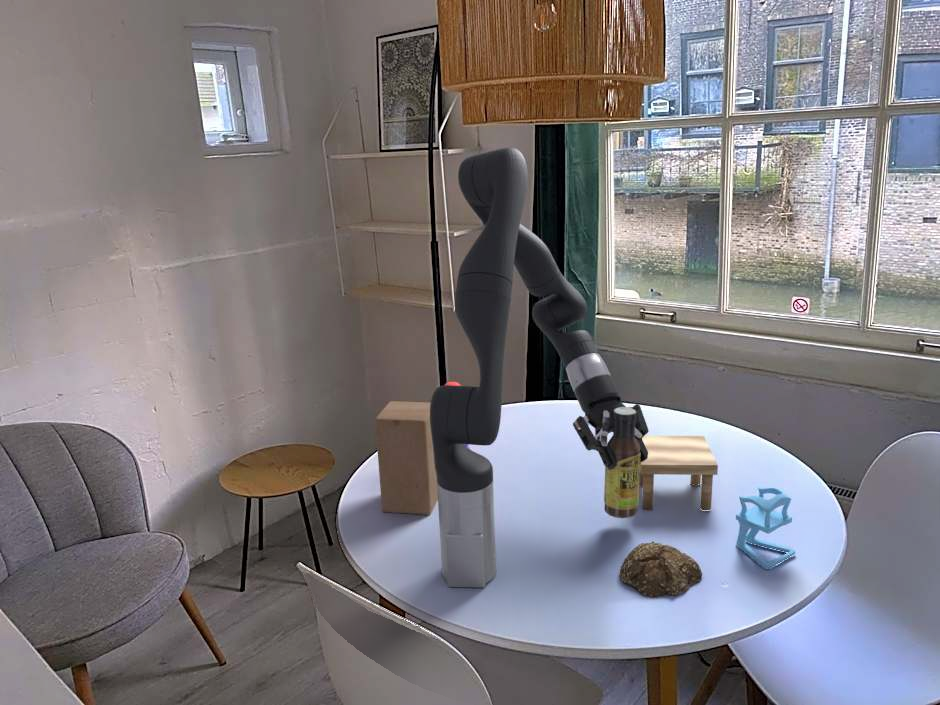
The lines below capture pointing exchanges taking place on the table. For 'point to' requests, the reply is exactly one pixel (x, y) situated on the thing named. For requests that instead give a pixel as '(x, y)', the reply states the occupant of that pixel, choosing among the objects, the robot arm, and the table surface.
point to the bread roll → (659, 570)
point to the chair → (763, 523)
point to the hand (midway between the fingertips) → (628, 463)
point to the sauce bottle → (623, 467)
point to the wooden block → (406, 458)
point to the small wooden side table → (678, 464)
